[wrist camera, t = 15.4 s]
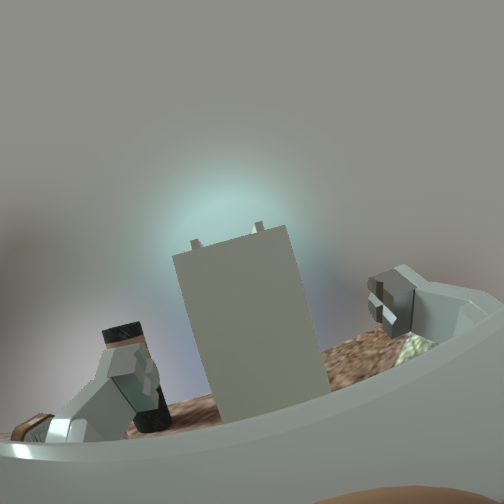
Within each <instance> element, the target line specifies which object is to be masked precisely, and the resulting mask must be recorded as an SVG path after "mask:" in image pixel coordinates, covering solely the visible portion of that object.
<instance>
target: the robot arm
mask: <svg viewBox="0 0 504 504" xmlns="http://www.w3.org/2000/svg"><path fill="white" fill-rule="evenodd" d="M368 289H369V290H370V291H371V294H370V296H369V297H368V306H369V310H370V313H371V315H372V317H373V318H374V320H375V321H376V322H379V323H382V329H383V330H384V331H385V332H386V334H387V335H388V336H389V337H390V338H391V339H393V338H396V337H398V336H401V335H403V334H405V333H408V332H410V331H411V332H412V333H414V334H417V335H419V336H421V337H424V338H426V339H429V340H431V341H434V342H436V343H438V344H439V345H437V346H436V347H434V348H432V349H430V350H428V351H426V352H424V353H422V354H420V355H418V356H416V357H414V358H412V359H410V360H408V361H406V362H404V363H402V364H400V365H397V366H395V367H393V368H391V369H389V370H386V371H384V372H382V373H380V374H377V375H375V376H373V377H370V378H368V379H365V380H363V381H360V382H358V383H355V384H353V385H350V386H348V387H345V388H343V389H340V390H337V391H335V392H332V393H329V394H326V395H323V396H321V397H318V398H315V399H312V400H309V401H306V402H303V403H300V404H297V405H294V406H290V407H287V408H284V409H280V410H277V411H274V412H270V413H267V414H263V415H259V416H255V417H252V418H248V419H244V420H240V421H236V422H231V423H227V424H222V425H218V426H213V427H208V428H203V429H198V430H193V431H187V432H181V433H175V434H169V435H162V436H154V437H147V438H138V439H128V440H120V439H121V437H122V436H123V434H124V433H125V431H126V430H127V428H128V426H129V425H130V423H131V422H132V420H133V419H134V417H135V415H136V414H137V413H136V412H142V411H148V410H153V409H158V400H159V394H158V392H157V391H156V389H157V388H158V386H159V384H160V378H159V373H158V369H157V367H156V364H155V363H154V361H153V360H152V359H150V358H148V350H147V348H146V346H145V345H144V344H143V343H136V344H131V345H126V346H121V347H117V348H111V349H107V350H104V351H103V353H102V357H101V359H100V362H99V366H98V369H97V372H96V375H95V379H94V380H92V381H90V382H89V383H88V384H87V385H86V386H85V387H84V388H83V389H82V390H81V391H80V392H79V393H78V394H77V395H76V396H75V397H74V398H73V399H72V400H71V401H70V402H69V403H68V404H67V405H66V406H65V407H64V408H63V409H62V410H61V411H60V412H59V413H58V414H57V415H56V416H55V417H54V418H53V419H52V420H51V423H50V427H49V430H48V433H47V436H46V440H45V443H42V442H21V441H8V440H0V504H313V503H315V502H318V501H322V500H326V499H330V498H334V497H337V496H341V495H344V494H347V493H352V492H358V491H365V490H371V489H376V488H381V487H398V486H413V485H417V486H429V487H445V488H454V489H458V490H463V491H467V492H472V493H477V494H481V495H483V496H485V497H487V498H490V499H492V500H494V501H497V502H499V503H501V504H504V305H503V304H501V303H500V302H499V301H497V300H496V299H495V298H494V297H492V296H491V295H489V294H488V293H487V292H484V291H479V290H474V289H468V288H463V287H458V286H453V285H447V284H443V283H438V282H430V283H429V282H428V281H426V280H425V279H424V278H422V277H421V276H420V275H418V274H417V273H416V272H414V271H413V270H412V269H410V268H409V267H408V266H406V265H400V266H398V267H395V268H393V269H391V270H388V271H386V272H383V273H380V274H378V275H375V276H372V277H370V278H369V279H368Z"/></svg>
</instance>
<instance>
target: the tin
mask: <svg viewBox="0 0 504 504" xmlns="http://www.w3.org/2000/svg"><path fill="white" fill-rule="evenodd" d="M54 417H55V416H54V415H52V414H43V413H39V414H37V415H36V416H34V417H32V418H30V419H29V420H27V421H25V422H24V423H22V424H20V425H18V426H17V427H16V428H15V429H14V430H13V432H12V435H11V440H10V441H21V442H42V443H45V440H46V436H47V433H48V430H49V427H50V423H51V420H52V419H53V418H54Z"/></svg>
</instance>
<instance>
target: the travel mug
mask: <svg viewBox="0 0 504 504" xmlns="http://www.w3.org/2000/svg"><path fill="white" fill-rule="evenodd" d="M102 334H103V337H104V341H105V343H106V347H107V349H111V348H117V347H121V346H126V345H131V344H136V343H143V344H144V345H145V346H146V348H147V350H148V347H147V344H146V341H145V337H144V335H143V331H142V328H141V324H140V322H139V321H138V322H134V323H130V324H125V325H121V326H117V327H113V328H110V329H107V330H103V331H102ZM148 358H150V359H151V356H150V353H149V350H148ZM156 391H157V392H158V394H159V400H158V409H153V410H148V411H142V412H136V413H137V414H136V415H135V417H134V419H133V422H134V424H135V426H136V428H137V430H138V431H139V432H141V433H152V432H156V431H159V430H162V429H164V428H166V427H168V426H169V425H170V424H171V423H172V419H171V416H170V413H169V410H168V407H167V404H166V402H165V399H164V395H163V393H162V389H161V386H160V384H159V386H158V388H157V389H156Z"/></svg>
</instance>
